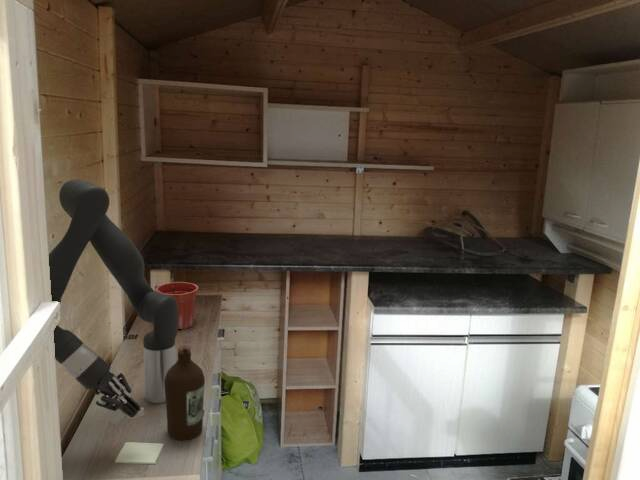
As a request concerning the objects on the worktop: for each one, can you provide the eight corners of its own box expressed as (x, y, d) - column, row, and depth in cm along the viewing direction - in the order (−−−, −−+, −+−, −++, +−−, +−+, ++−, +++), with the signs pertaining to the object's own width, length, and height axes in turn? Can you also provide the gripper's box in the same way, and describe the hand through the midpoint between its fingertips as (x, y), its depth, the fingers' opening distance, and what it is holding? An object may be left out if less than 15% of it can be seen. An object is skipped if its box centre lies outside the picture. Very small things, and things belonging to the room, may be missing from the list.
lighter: (102, 414, 136) (124, 395, 135) (104, 410, 138) (126, 391, 136) (123, 432, 137) (145, 413, 136) (125, 428, 139) (146, 410, 138)
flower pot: (164, 316, 231) (164, 280, 227) (202, 318, 230) (202, 282, 226) (151, 331, 214) (150, 293, 211) (192, 333, 214) (191, 295, 210)
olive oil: (157, 434, 147) (155, 349, 142) (183, 416, 157) (183, 336, 151) (186, 446, 143) (185, 359, 137) (212, 427, 152) (212, 345, 146)
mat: (126, 443, 143) (125, 442, 142) (163, 445, 143) (163, 443, 143) (114, 462, 135) (114, 461, 135) (154, 464, 135) (154, 462, 135)
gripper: (84, 369, 127) (137, 418, 130) (106, 345, 140) (154, 390, 143) (63, 388, 128) (116, 437, 131) (87, 363, 141) (135, 407, 144)
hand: (136, 412), depth 137 cm, fingers closed on lighter, 1 cm apart
